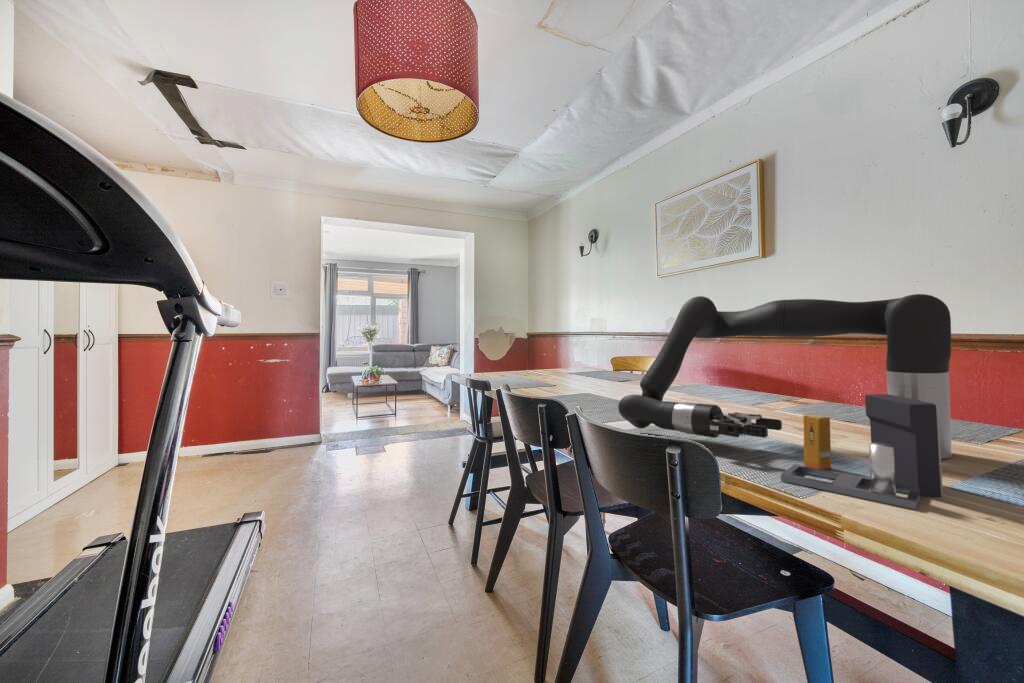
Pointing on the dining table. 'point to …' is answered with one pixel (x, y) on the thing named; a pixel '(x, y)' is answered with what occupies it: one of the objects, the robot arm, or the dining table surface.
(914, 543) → the dining table surface
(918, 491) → the hole plate
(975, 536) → the dining table surface
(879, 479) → the steel pin
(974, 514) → the dining table surface
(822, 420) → the supplement box
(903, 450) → the black coffee maker
